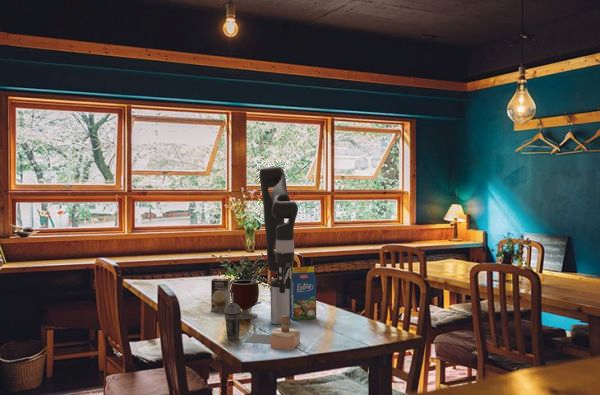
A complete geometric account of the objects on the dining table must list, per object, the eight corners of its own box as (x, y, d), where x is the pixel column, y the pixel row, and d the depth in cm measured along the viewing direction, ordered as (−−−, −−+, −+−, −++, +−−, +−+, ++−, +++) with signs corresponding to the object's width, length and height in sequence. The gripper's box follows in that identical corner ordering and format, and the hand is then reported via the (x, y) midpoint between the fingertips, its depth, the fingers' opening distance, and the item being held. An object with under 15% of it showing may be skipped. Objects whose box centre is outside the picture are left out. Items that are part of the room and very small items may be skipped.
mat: (254, 335, 257) (254, 333, 257) (285, 337, 254) (285, 335, 254) (243, 343, 244) (243, 342, 244) (275, 345, 240) (275, 344, 240)
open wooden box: (277, 342, 245) (277, 330, 245) (300, 344, 242) (300, 331, 242) (270, 348, 236) (270, 336, 235) (293, 350, 233) (293, 337, 233)
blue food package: (316, 318, 289) (316, 267, 289) (293, 320, 285) (293, 268, 284) (311, 316, 295) (311, 265, 294) (288, 318, 291) (288, 267, 290)
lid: (276, 330, 246) (276, 312, 246) (301, 331, 243) (301, 314, 243) (268, 336, 235) (268, 318, 235) (295, 338, 232) (295, 319, 232)
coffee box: (210, 311, 306) (210, 280, 306) (213, 308, 313) (213, 278, 313) (228, 311, 306) (227, 280, 305) (230, 309, 312) (230, 278, 312)
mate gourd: (225, 317, 292) (225, 277, 291) (240, 312, 304) (240, 273, 303) (252, 321, 284) (251, 279, 284) (267, 315, 297) (266, 275, 296)
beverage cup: (242, 337, 253) (242, 291, 252) (241, 342, 245) (240, 294, 245) (225, 338, 252) (224, 291, 252) (223, 342, 245) (223, 294, 245)
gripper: (280, 248, 247) (281, 287, 248) (270, 252, 234) (271, 293, 234) (298, 248, 246) (298, 288, 246) (289, 253, 232) (289, 294, 232)
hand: (285, 290), depth 240 cm, fingers open, 8 cm apart
